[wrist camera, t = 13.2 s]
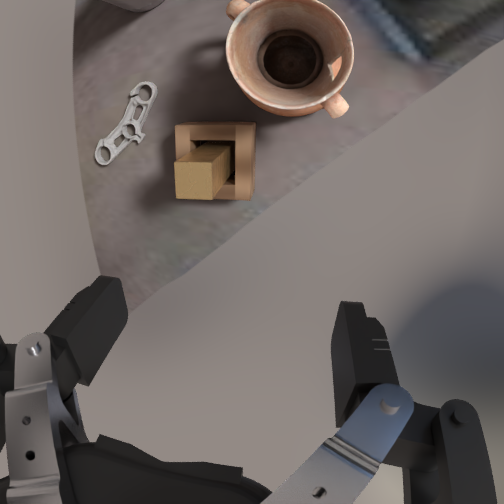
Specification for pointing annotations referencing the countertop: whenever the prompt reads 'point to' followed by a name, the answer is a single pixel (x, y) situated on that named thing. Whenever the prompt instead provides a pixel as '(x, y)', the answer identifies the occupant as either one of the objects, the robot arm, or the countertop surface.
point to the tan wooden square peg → (204, 170)
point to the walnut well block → (244, 152)
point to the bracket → (125, 121)
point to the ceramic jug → (289, 55)
